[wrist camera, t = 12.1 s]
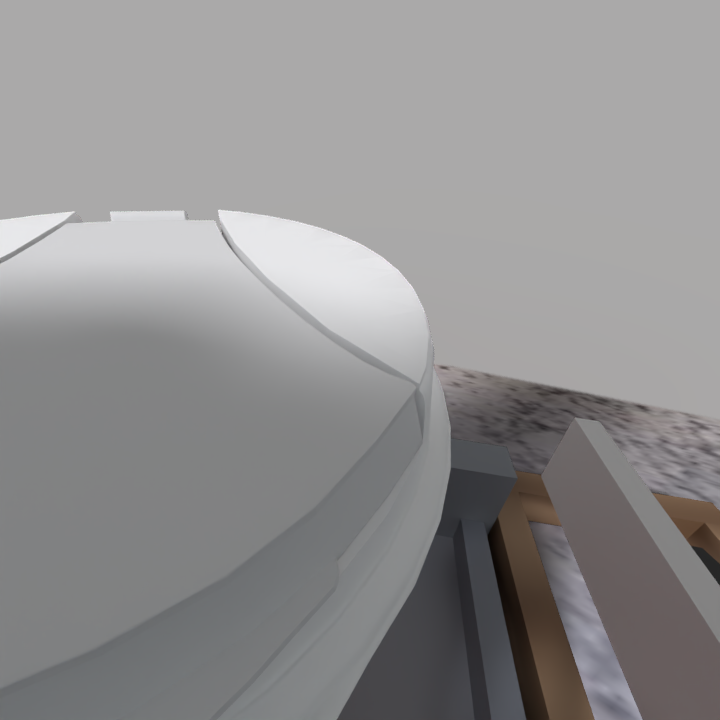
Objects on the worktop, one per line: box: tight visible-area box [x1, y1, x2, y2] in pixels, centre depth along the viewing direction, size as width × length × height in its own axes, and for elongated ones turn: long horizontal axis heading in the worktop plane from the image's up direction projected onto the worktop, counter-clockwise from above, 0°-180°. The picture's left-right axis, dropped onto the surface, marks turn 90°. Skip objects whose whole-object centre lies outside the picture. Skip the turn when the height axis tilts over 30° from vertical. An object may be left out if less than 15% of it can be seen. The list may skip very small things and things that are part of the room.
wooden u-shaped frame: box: [487, 471, 720, 720], centre depth 15 cm, size 13×14×2 cm
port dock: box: [337, 438, 526, 720], centre depth 13 cm, size 15×15×6 cm
